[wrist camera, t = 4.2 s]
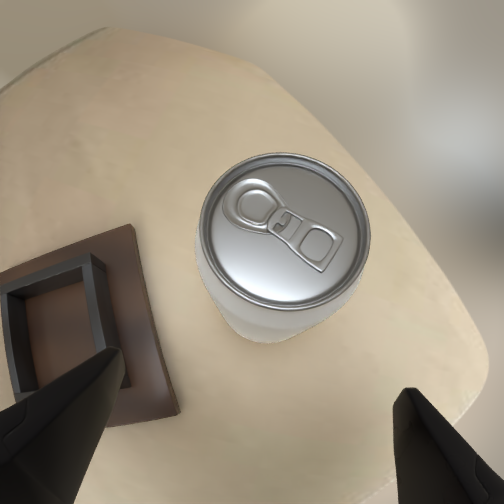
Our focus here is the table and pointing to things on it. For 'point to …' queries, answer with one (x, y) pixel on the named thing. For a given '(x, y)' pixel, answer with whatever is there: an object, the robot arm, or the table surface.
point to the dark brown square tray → (86, 322)
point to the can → (281, 244)
